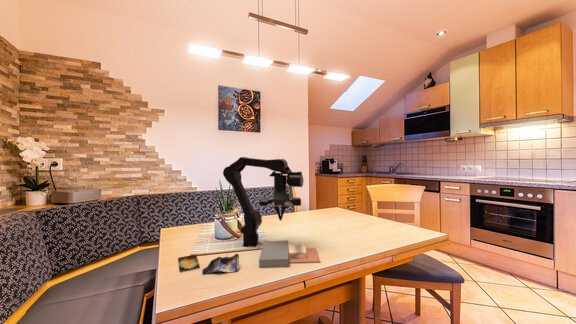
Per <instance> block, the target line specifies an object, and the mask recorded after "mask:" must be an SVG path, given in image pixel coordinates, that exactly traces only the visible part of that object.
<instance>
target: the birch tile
mask: <svg viewBox="0 0 576 324" xmlns="http://www.w3.org/2000/svg"><path fill="white" fill-rule="evenodd" d="M306 248H307V247H306V244H288V259H307V254H306Z"/></svg>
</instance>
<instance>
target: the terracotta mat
mask: <svg viewBox="0 0 576 324" xmlns="http://www.w3.org/2000/svg"><path fill="white" fill-rule="evenodd" d="M305 248H306V254H307V259H289V258H288V259H289V264H314V263H316V264H317V263H321V259H320V256H319V253H318V250H317V248H316V247H305Z"/></svg>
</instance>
